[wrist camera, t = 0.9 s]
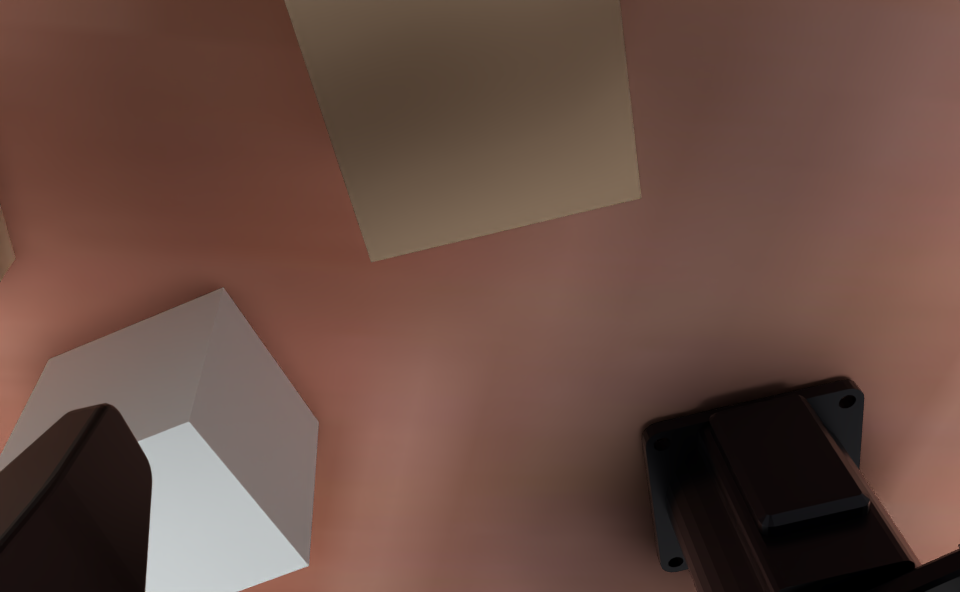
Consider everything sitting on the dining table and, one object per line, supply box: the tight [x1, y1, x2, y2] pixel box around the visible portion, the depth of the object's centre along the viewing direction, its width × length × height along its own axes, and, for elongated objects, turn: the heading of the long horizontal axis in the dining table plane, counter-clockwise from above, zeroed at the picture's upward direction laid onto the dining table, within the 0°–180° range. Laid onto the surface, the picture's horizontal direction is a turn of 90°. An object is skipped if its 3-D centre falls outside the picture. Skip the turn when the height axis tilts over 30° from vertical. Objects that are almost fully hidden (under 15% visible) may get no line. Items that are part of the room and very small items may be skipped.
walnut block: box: [284, 0, 641, 262], centre depth 16 cm, size 5×5×5 cm
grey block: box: [0, 287, 319, 592], centre depth 21 cm, size 5×5×5 cm
